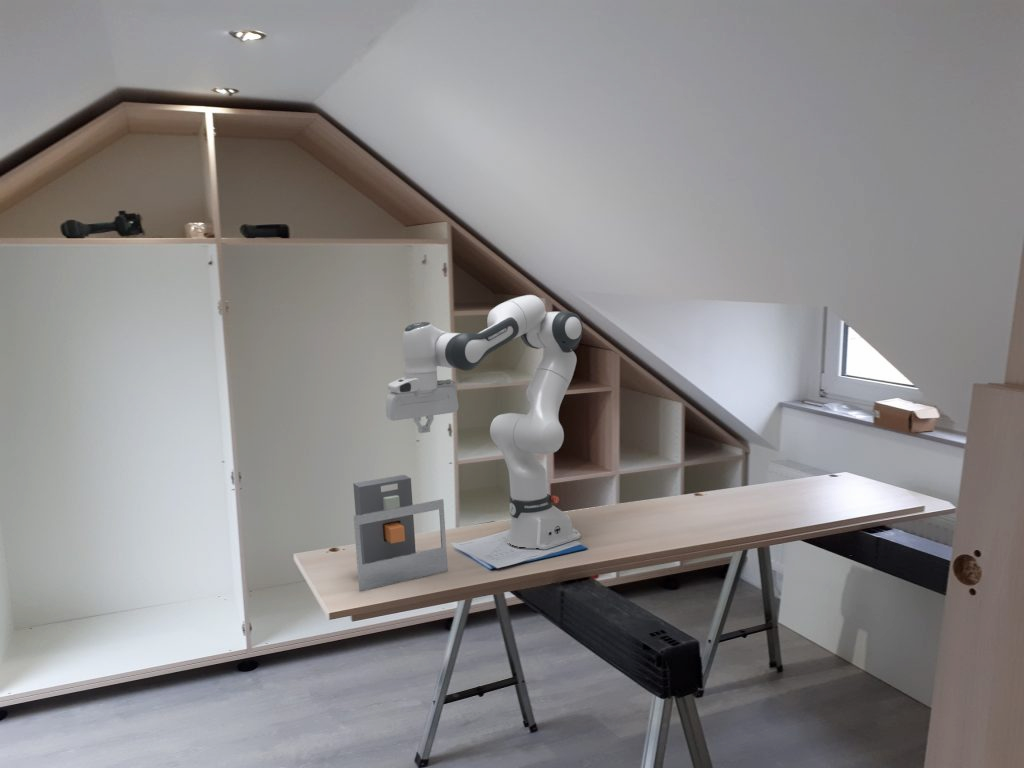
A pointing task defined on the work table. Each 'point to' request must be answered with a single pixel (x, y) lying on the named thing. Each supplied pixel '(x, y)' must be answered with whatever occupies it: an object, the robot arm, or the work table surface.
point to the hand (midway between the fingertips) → (424, 432)
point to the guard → (405, 564)
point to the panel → (381, 498)
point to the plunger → (393, 532)
